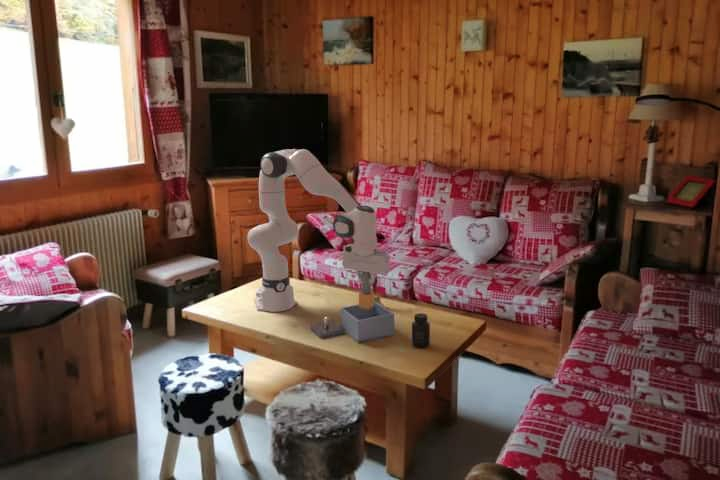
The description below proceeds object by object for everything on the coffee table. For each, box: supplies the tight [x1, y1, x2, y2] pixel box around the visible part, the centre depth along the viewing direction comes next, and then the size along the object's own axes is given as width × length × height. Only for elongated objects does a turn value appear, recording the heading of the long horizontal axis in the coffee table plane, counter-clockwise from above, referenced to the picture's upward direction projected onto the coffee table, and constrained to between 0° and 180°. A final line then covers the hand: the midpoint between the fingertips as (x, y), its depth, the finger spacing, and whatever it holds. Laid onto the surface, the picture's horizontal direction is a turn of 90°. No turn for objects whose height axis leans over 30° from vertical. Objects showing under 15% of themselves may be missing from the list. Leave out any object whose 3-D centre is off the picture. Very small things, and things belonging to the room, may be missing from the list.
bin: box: [339, 301, 395, 344], centre depth 234 cm, size 16×16×9 cm
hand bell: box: [371, 275, 385, 307], centre depth 260 cm, size 8×8×16 cm
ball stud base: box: [310, 316, 345, 339], centre depth 235 cm, size 10×10×6 cm
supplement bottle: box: [411, 312, 431, 349], centre depth 221 cm, size 7×7×12 cm
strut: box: [358, 271, 374, 309], centre depth 231 cm, size 4×4×15 cm
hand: (366, 282), depth 230 cm, fingers closed on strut, 4 cm apart
